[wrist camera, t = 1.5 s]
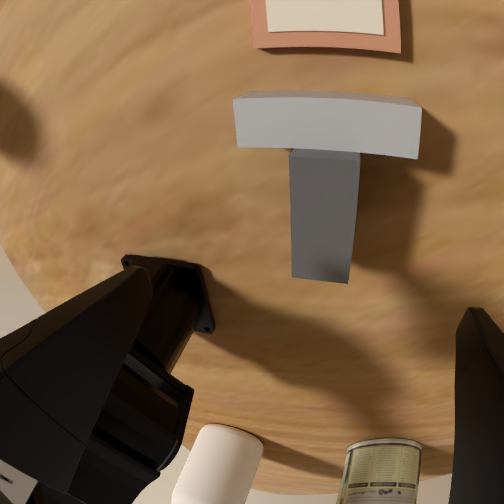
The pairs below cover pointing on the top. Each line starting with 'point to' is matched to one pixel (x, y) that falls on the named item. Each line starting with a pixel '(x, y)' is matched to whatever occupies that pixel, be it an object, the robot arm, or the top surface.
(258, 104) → the grey block mallet
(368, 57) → the top surface
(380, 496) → the coffee can
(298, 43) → the tile
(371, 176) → the top surface
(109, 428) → the robot arm
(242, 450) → the wine bottle
